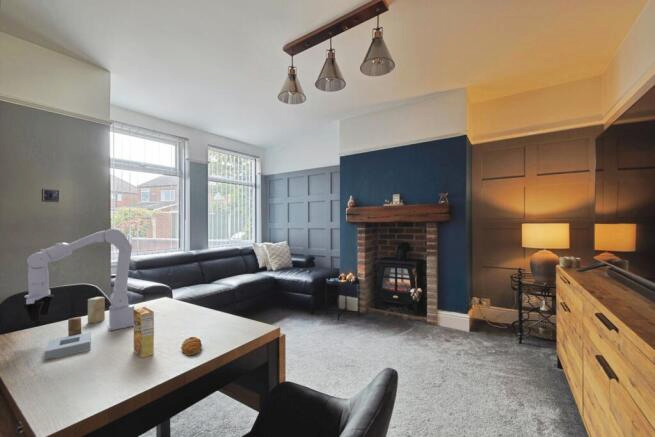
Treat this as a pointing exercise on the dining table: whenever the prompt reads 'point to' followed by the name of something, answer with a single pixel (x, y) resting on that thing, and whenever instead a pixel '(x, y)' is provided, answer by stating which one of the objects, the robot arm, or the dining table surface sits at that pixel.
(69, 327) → the peg
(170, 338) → the dining table surface
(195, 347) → the pastry
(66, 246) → the robot arm
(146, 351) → the candy box
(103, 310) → the box
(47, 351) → the socket block
